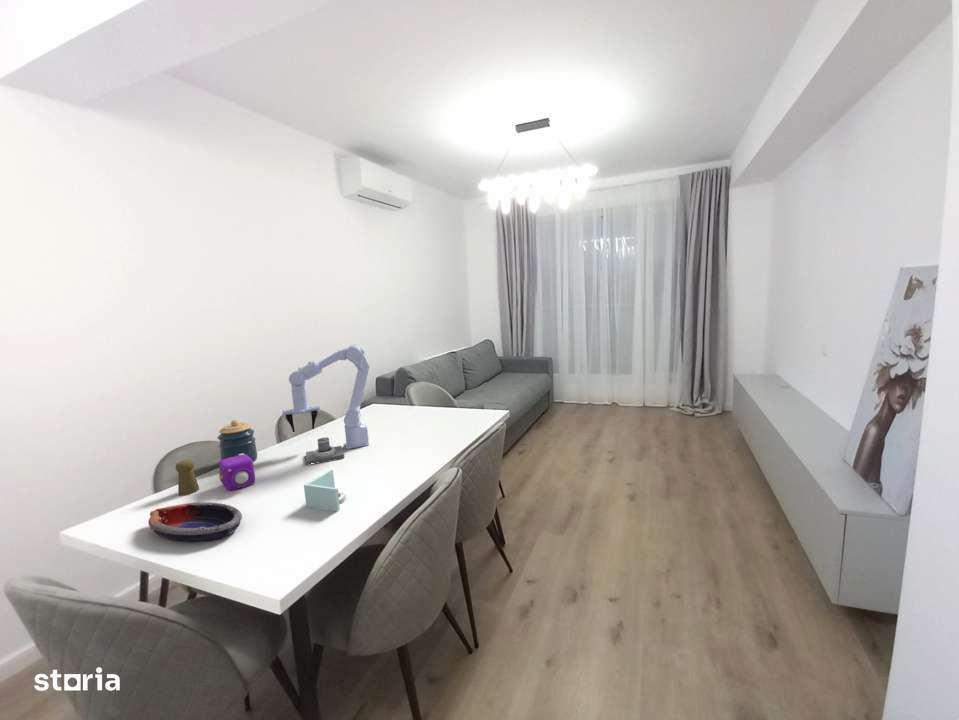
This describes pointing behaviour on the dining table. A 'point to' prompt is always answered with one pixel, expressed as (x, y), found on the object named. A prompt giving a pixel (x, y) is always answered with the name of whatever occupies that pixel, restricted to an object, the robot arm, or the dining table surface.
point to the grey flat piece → (324, 455)
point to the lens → (323, 444)
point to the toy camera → (236, 472)
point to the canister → (237, 440)
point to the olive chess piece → (186, 478)
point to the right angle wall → (323, 493)
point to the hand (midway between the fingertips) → (303, 429)
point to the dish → (195, 521)
